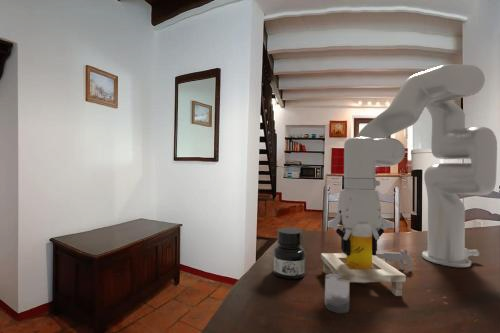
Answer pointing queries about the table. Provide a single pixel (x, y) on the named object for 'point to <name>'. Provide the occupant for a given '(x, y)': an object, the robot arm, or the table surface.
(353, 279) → the birch stand
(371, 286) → the table surface
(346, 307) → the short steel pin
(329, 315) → the table surface
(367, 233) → the beer can
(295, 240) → the ink bottle
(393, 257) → the caliper
